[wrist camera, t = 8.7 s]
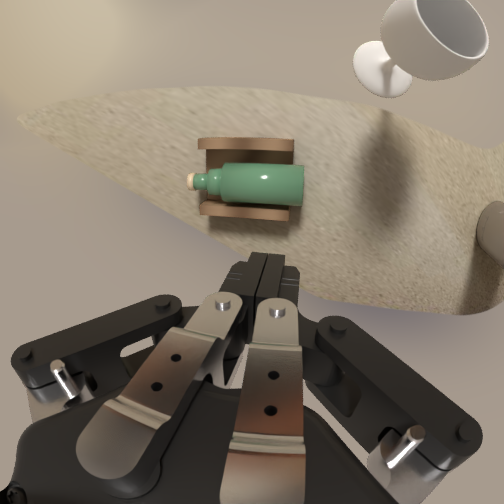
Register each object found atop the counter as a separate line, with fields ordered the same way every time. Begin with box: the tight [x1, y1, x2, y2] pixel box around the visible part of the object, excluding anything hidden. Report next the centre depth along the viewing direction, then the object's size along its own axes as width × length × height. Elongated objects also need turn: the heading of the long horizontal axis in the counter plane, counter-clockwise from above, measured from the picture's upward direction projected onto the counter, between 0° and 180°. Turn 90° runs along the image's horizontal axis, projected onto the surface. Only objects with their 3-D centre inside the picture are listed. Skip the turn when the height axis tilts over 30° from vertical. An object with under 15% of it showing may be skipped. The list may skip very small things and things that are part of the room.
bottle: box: [187, 163, 304, 206], centre depth 35 cm, size 5×5×15 cm
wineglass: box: [353, 0, 489, 98], centre depth 18 cm, size 9×9×21 cm
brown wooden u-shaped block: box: [198, 137, 294, 221], centre depth 36 cm, size 12×10×4 cm
